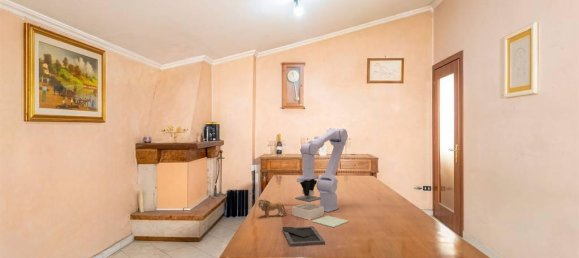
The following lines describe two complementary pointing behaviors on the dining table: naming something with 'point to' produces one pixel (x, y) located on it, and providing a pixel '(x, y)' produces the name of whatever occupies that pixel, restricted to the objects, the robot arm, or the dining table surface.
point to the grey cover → (308, 197)
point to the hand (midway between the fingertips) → (308, 195)
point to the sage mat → (330, 221)
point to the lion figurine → (271, 207)
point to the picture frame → (302, 236)
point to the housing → (308, 211)
